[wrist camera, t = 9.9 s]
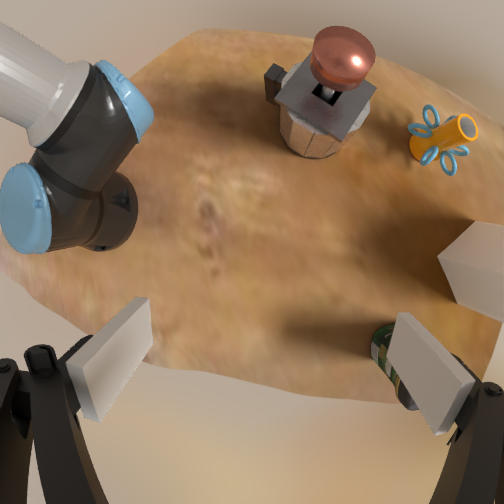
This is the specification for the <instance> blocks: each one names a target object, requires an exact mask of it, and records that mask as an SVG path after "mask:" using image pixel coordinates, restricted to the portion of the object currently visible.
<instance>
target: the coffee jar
mask: <svg viewBox="0 0 504 504" xmlns="http://www.w3.org/2000/svg"><path fill="white" fill-rule="evenodd" d="M394 327H395V324H392V325H388V326H384V327H381V328H380V329H378V330H377V331H376V333H375V334H374V336H373V340H372V345H371V355H372V358H373V360H374V361H375V362H376V364H377V365H378V366H379V367H380V368H381V369H382V370H383V372H384V373H385V374H386V375H387V376H388V378H389V379H390V380H391V382H392V383H393V384H394V386H395V392H396V396H397V398H398V400H399V401H400V402H401V403H402V404H403V405H404V407H405V408H407V409H408V410H419V408H418V406H417V405H416V403H415V401H414V400H413V398H412V397H411V395H410V393H409V392H408V390H407V388H406V387H405V385H404V383H403V382H402V380H401V379H400V377H399V375H398V374H397V372H396V371H395V369H394V368H393V366H392V364H391V363H390V361H389V360H388V358H387V357H386V355H387V352H388V349H389V345H390V342H391V338H392V334H393V330H394Z"/></svg>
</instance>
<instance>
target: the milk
mask: <svg viewBox="0 0 504 504" xmlns="http://www.w3.org/2000/svg"><path fill="white" fill-rule="evenodd" d="M437 257H438V260H439V262H440V264H441V266H442V268H443V271H444V273H445V275H446V277H447V280H448V282H449V284H450V287H451V289H452V292H453V294H454V297H455V299H456V302H457V304H459V305H462V306H464V307H467V308H469V309H471V310H474V311H476V312H479V313H481V314H484V315H486V316H488V317H491V318H493V319H495V320H498V321H500V322H503V323H504V225H499V224H492V223H486V222H479V221H475V222H474V223H473V224H472V225H471V226H469V227H468V228H467V229H466V230H465V231H464V232H463V233H462V234H461V235H460V236H459V237H458V238H457V239H456V240H455V241H454V242H452V243H451V244H450V245H449V246H448V247H447V248H446V249H445V250H444V251H442V252H441V253H440V254H439V255H438V256H437Z"/></svg>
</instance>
